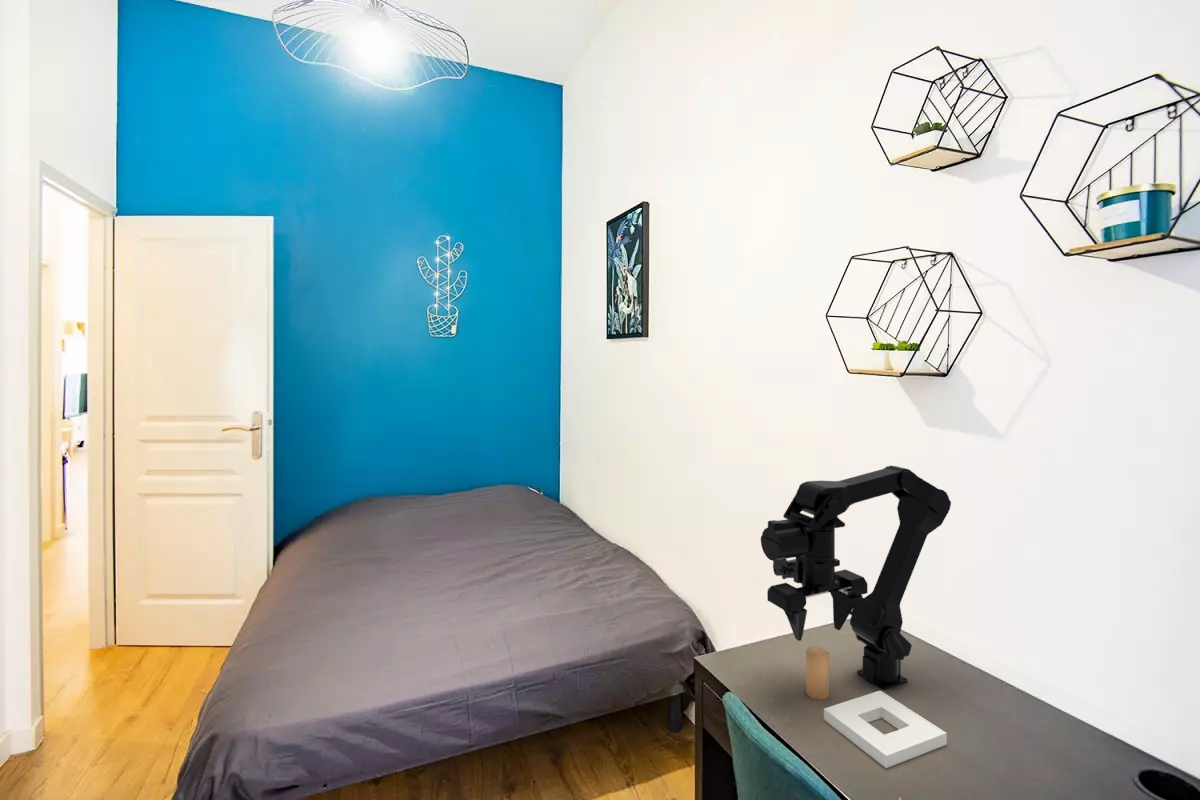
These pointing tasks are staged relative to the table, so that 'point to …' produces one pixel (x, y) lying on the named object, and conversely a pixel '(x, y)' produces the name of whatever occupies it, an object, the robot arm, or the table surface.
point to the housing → (887, 748)
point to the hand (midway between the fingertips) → (818, 634)
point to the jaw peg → (817, 673)
